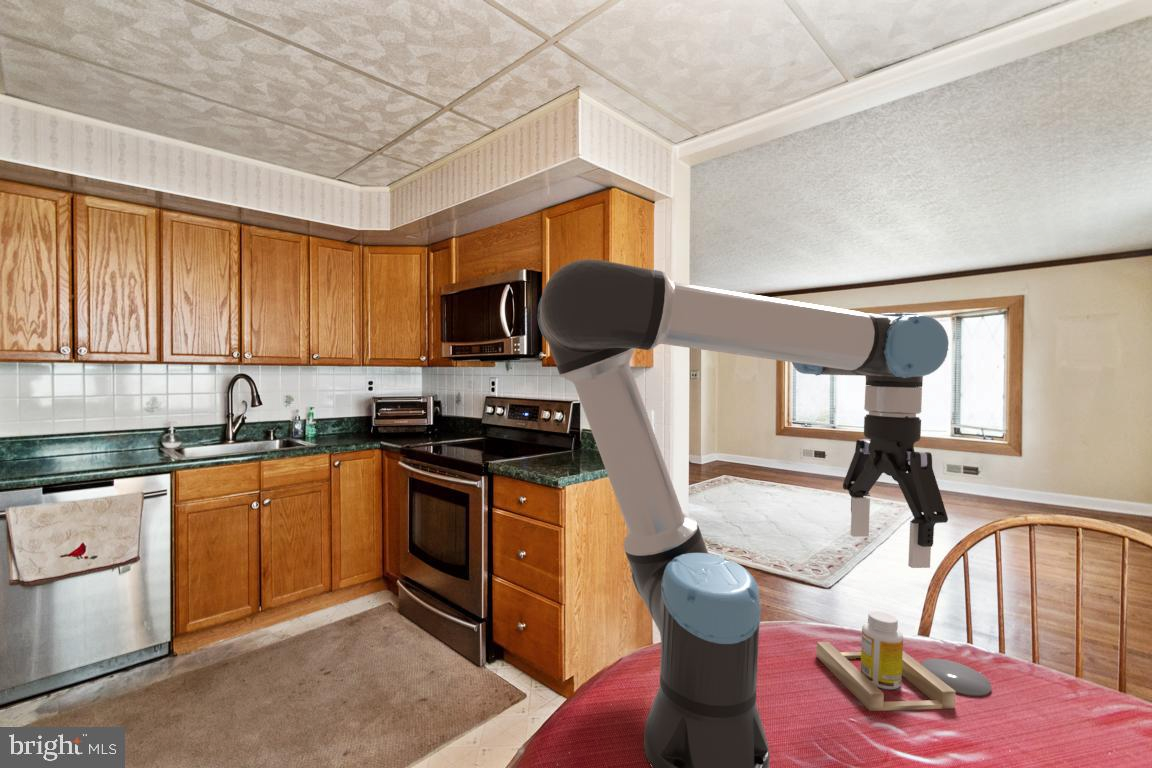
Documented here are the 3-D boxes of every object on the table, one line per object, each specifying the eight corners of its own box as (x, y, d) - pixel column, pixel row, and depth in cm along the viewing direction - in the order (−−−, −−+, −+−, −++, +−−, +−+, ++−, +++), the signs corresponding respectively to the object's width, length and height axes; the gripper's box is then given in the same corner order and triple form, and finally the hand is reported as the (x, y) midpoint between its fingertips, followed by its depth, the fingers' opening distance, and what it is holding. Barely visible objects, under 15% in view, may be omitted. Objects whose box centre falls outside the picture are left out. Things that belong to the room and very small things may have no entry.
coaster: (950, 696, 78) (951, 693, 78) (907, 662, 87) (907, 659, 87) (1006, 695, 79) (1006, 691, 79) (958, 661, 88) (958, 658, 88)
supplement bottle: (906, 682, 81) (909, 618, 81) (893, 696, 78) (896, 628, 77) (868, 666, 86) (871, 605, 85) (854, 678, 82) (856, 614, 82)
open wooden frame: (869, 711, 74) (870, 693, 74) (816, 656, 88) (817, 641, 88) (954, 708, 75) (955, 691, 75) (889, 654, 89) (889, 640, 89)
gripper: (984, 423, 68) (977, 582, 69) (864, 408, 93) (859, 525, 94) (930, 422, 68) (924, 583, 68) (824, 407, 92) (819, 525, 93)
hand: (886, 550), depth 81 cm, fingers open, 13 cm apart
